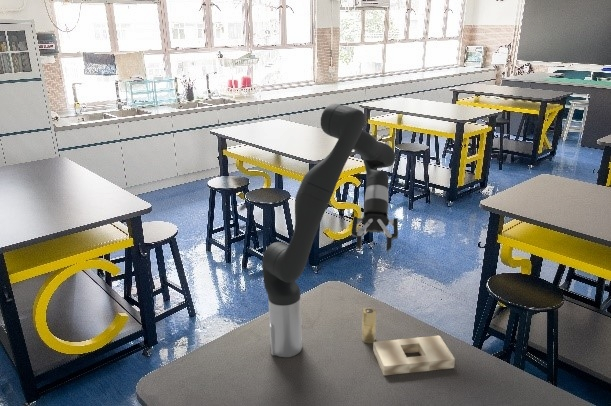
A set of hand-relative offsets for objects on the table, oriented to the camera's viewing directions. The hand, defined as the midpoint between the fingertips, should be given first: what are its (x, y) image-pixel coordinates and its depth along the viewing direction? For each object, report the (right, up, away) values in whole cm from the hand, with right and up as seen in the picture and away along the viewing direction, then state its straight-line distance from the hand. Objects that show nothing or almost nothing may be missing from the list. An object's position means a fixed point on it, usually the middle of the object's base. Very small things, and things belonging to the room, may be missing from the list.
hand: (373, 249), depth 150 cm
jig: (+10, -30, -11) cm, 33 cm away
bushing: (-2, -27, -2) cm, 27 cm away
